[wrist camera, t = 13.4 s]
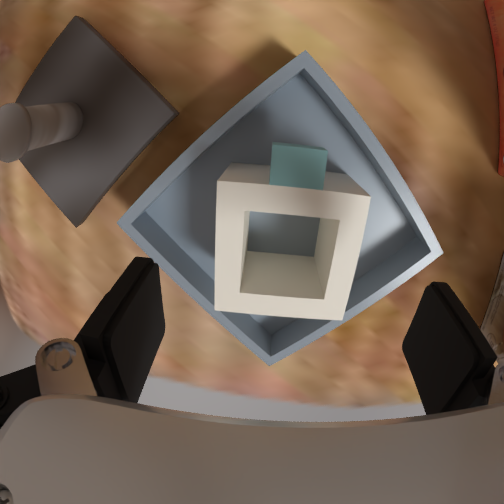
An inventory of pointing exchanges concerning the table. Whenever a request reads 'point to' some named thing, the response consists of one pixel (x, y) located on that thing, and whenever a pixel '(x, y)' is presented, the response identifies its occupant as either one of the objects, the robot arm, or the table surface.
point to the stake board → (105, 118)
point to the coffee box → (496, 317)
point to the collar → (283, 265)
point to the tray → (282, 225)
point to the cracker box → (498, 63)
